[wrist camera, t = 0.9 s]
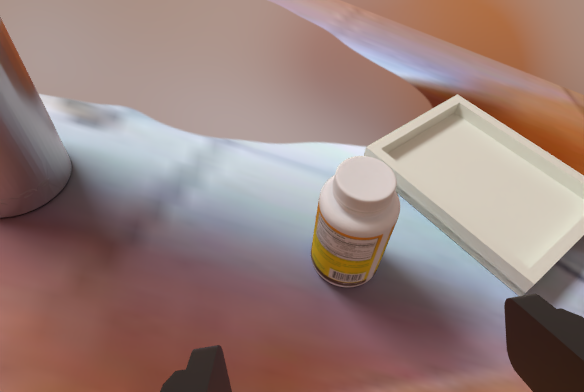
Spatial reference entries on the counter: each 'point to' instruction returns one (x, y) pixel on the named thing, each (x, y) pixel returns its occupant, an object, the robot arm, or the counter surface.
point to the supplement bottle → (354, 221)
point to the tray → (487, 189)
